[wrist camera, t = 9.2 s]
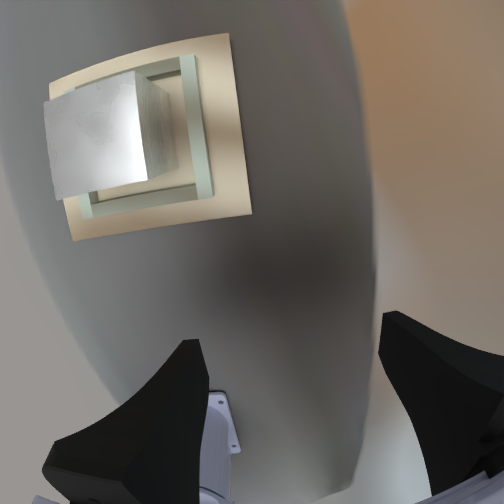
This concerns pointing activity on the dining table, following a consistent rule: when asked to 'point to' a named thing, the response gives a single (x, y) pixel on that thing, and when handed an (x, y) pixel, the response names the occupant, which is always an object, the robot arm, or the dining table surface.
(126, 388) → the dining table surface
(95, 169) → the block
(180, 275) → the dining table surface
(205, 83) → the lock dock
